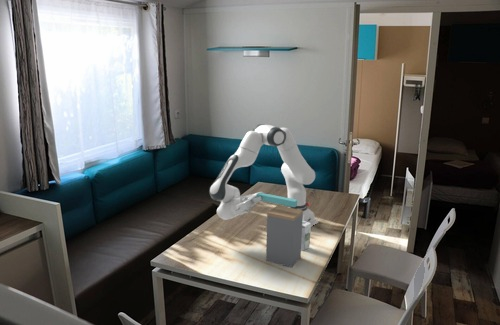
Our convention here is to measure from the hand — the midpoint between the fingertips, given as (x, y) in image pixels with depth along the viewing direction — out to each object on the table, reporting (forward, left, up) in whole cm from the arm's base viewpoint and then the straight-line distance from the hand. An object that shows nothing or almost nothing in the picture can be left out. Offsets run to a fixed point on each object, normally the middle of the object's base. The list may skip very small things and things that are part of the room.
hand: (263, 196), depth 216 cm
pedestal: (-5, +11, -32) cm, 34 cm away
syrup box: (-22, +8, -32) cm, 39 cm away
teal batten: (-3, +7, -2) cm, 8 cm away
